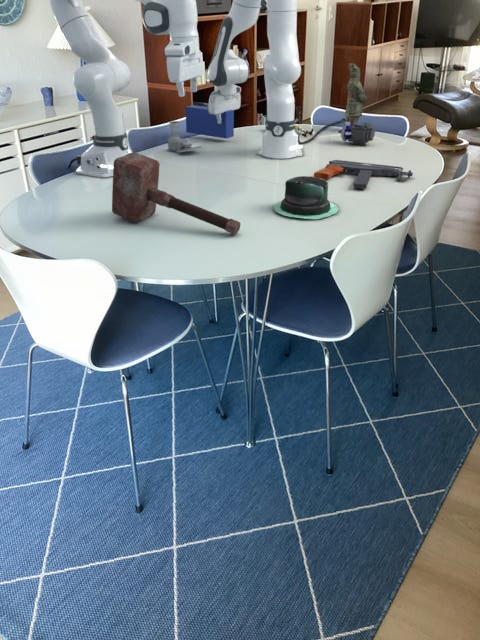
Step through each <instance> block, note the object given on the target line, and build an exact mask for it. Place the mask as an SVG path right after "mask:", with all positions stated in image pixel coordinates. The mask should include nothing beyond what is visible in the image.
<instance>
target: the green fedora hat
mask: <svg viewBox="0 0 480 640" xmlns="http://www.w3.org/2000/svg"><path fill="white" fill-rule="evenodd" d="M284 184H285V185H284V187H285V190H284V198H283V199H282V200H281V201H278V202H276V203H275V204H274V205H273V210H274V212H275V213H277V214H280V215H282V216H285V217H289V218H298V219H304V220H320V219H323V218H328V217H330V216H332V215H335V214H337V212H338V210H339V208H338V206H337V204H334V203H333V202H331V201H329V200H328V195H329V182H328V181H327V180H324V179H322V178H317V177H314V176H309V175H308V176H307V175H306V176H305V175H302V176H295V177H292V178H289V179H287V180H285V183H284Z"/></svg>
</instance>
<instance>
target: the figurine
mask: <svg viewBox="0 0 480 640" xmlns="http://www.w3.org/2000/svg"><path fill="white" fill-rule="evenodd" d="M297 122H299V118H296V119H295V123H297ZM295 132H296V133H297V135H298V136H302V137H304V138H307V136H308V135H309V136H313V132H314V128H311V130H309V131H308V129H304V128H302V127H300V126H299V125H298V126H297V125H295Z"/></svg>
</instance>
